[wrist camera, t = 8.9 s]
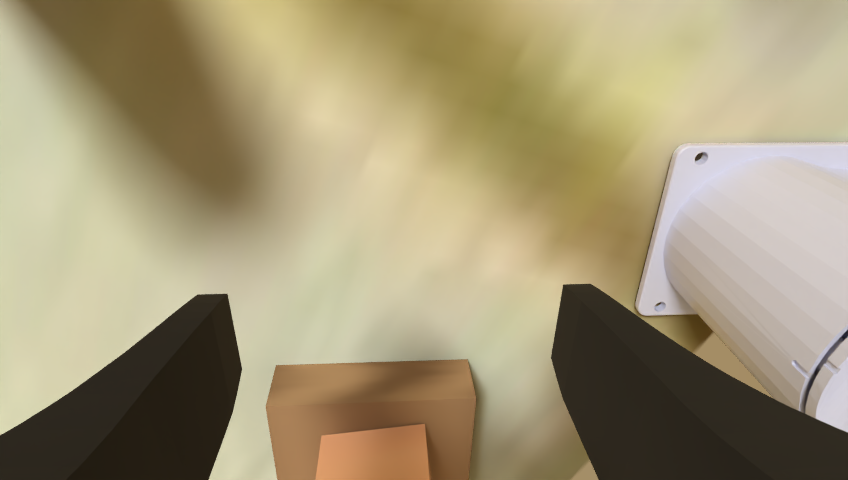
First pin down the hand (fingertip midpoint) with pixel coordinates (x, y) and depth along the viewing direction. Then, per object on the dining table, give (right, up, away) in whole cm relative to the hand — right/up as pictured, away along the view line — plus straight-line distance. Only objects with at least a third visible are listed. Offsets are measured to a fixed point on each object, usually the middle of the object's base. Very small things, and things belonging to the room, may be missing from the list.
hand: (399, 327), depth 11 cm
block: (-2, -8, +16) cm, 18 cm away
